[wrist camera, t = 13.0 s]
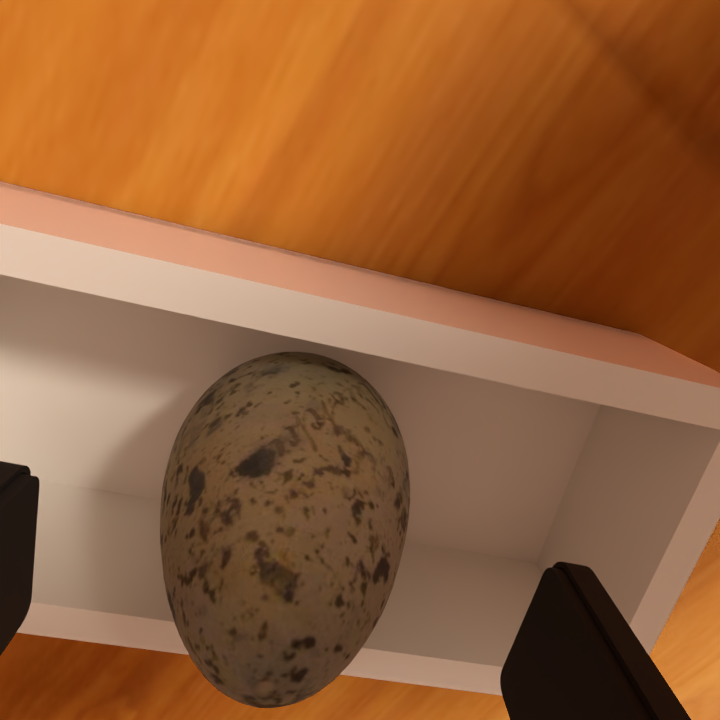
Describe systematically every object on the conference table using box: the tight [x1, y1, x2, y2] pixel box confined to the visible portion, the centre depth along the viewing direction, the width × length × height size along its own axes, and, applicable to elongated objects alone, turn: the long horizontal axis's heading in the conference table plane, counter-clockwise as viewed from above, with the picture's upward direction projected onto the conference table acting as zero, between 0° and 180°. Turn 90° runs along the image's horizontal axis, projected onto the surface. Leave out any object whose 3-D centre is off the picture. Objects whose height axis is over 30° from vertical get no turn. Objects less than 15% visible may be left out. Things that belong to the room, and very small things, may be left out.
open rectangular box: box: [0, 182, 720, 696], centre depth 16 cm, size 22×10×6 cm, turn 76°
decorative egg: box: [160, 352, 410, 708], centre depth 13 cm, size 6×6×10 cm
